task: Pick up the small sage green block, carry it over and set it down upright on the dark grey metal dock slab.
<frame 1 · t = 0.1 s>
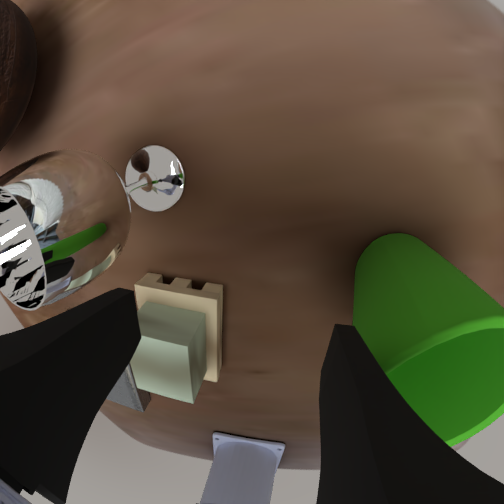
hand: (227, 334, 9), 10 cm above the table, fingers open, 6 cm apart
cup: (391, 266, 18), on the table, touching gripper
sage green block: (186, 322, 23), on the table
dock: (109, 358, 26), on the table
wineglass: (155, 178, 18), on the table
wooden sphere: (20, 82, 17), on the table
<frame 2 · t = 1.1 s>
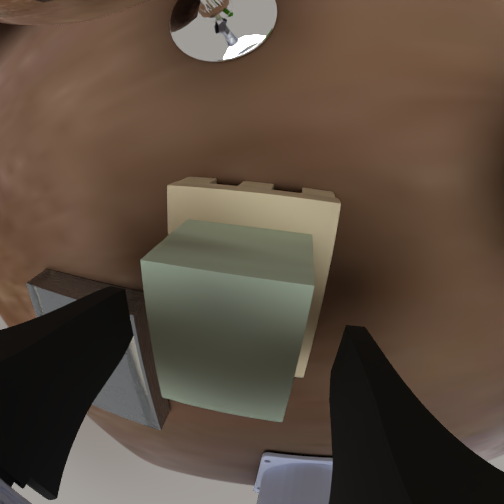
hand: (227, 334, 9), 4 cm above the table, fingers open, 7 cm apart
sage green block: (251, 272, 13), on the table
dock: (107, 346, 17), on the table
wineglass: (222, 16, 9), on the table
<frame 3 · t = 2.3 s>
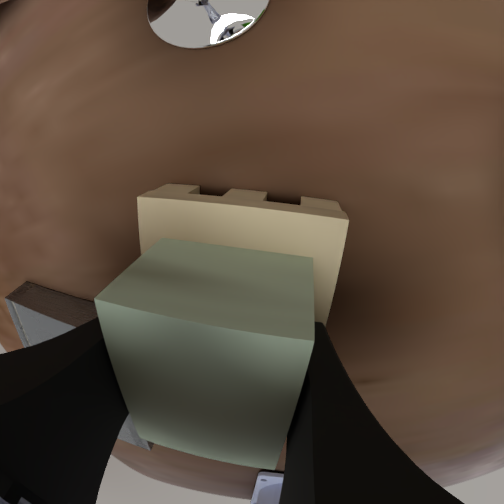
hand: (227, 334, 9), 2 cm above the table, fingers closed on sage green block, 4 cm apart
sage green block: (242, 294, 11), on the table, touching gripper
dock: (91, 364, 15), on the table
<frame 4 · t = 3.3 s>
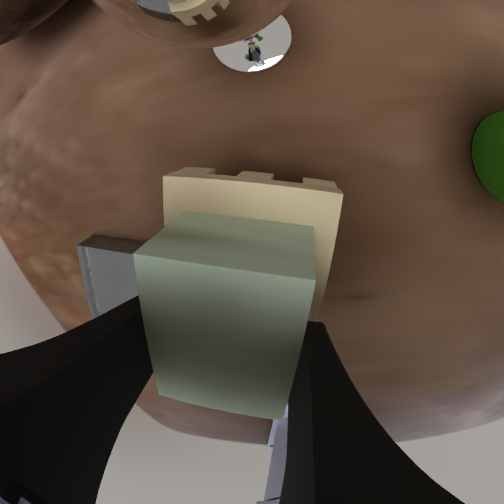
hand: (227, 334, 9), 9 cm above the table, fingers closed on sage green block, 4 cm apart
cup: (498, 154, 13), on the table
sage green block: (251, 265, 13), point 5 cm above the table, touching gripper
dock: (144, 302, 21), on the table
wineglass: (251, 38, 13), on the table
when the fingers open (9 cm above the table, at t = 3.6 s): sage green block drops 2 cm, resting on dock.
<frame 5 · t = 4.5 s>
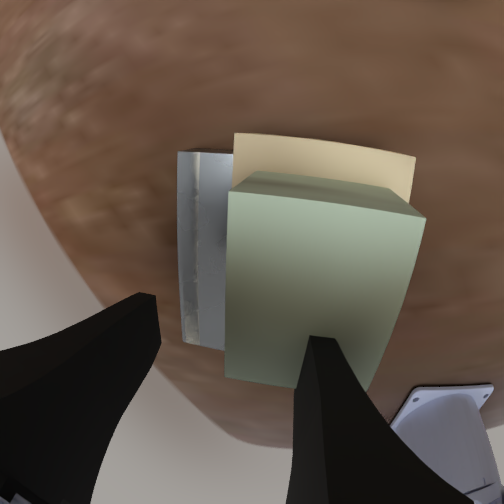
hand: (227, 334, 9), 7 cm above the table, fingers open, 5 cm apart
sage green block: (313, 238, 12), point 2 cm above the table, touching dock, gripper
dock: (268, 255, 15), on the table
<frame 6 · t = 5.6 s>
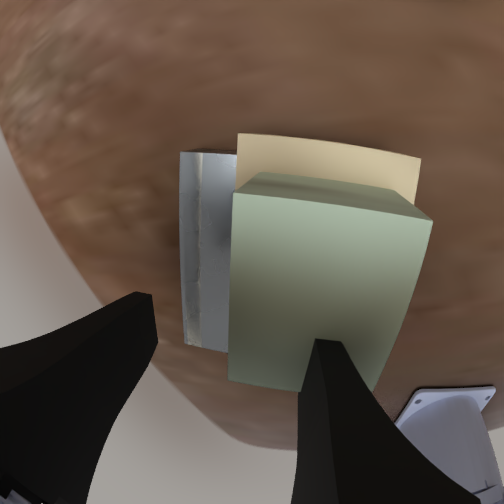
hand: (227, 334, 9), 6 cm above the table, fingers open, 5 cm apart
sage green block: (316, 239, 12), point 2 cm above the table, touching dock, gripper
dock: (271, 257, 15), on the table
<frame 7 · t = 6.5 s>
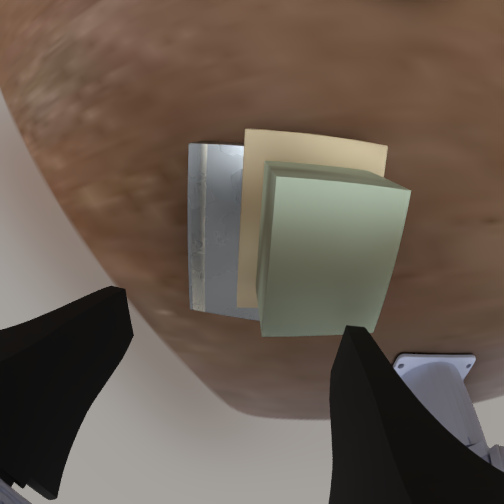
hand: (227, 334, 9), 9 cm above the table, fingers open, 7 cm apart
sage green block: (301, 215, 14), point 2 cm above the table, tilted 12°, touching dock
dock: (264, 230, 18), on the table
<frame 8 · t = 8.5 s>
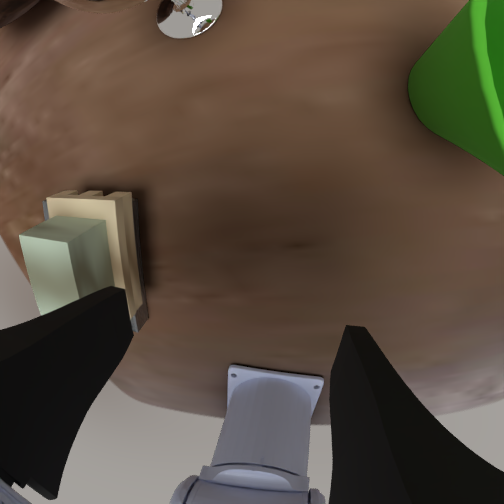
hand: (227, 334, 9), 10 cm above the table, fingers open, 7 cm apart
cup: (441, 96, 13), on the table
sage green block: (101, 247, 19), point 2 cm above the table, touching dock
dock: (100, 256, 22), on the table
wineglass: (189, 10, 14), on the table
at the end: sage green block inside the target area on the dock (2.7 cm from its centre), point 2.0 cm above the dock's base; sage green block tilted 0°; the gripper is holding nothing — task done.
